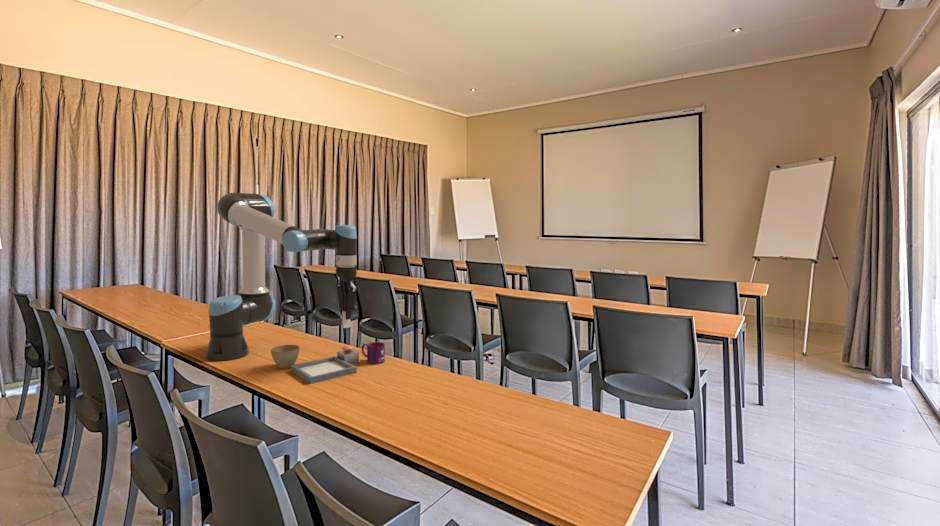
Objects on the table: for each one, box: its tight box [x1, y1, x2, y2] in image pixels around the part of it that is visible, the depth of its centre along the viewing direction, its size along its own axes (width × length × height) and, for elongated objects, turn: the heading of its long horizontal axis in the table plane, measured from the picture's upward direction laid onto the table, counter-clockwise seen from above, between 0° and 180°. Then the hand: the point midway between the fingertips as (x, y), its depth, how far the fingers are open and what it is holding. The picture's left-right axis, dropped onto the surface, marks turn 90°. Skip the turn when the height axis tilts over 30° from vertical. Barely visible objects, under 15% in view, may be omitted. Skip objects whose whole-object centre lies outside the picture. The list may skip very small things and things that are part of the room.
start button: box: [341, 345, 354, 353], centre depth 178 cm, size 4×4×3 cm
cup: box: [361, 341, 386, 365], centre depth 180 cm, size 7×10×7 cm
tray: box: [290, 355, 358, 385], centre depth 167 cm, size 17×17×2 cm
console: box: [336, 348, 360, 365], centre depth 178 cm, size 6×6×4 cm
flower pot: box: [270, 344, 300, 370], centre depth 172 cm, size 10×10×7 cm
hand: (346, 327), depth 177 cm, fingers closed
